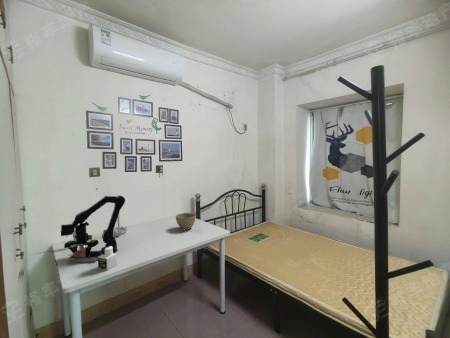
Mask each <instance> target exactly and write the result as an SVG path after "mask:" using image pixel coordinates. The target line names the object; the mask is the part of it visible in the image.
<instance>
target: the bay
mask: <svg viewBox="0 0 450 338" xmlns="http://www.w3.org/2000/svg"><path fill="white" fill-rule="evenodd" d="M86 247H87V245H78V248H79V249H86ZM99 256H101V250H91V251H90V256H89V257H88V258H75V257H74V254H73V253H72V254H71V255H70V256H69V257H68V259H67V261H68V263H69V264H83V263H84V264H86V263H96V262H98V257H99Z"/></svg>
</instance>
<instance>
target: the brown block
mask: <svg viewBox="0 0 450 338" xmlns="http://www.w3.org/2000/svg"><path fill="white" fill-rule="evenodd" d="M89 256H90V254H89ZM89 256H88V257H89ZM74 257H75V258H88V257H87V255H86V249H80V248H79V249H77V251H76V252H74Z"/></svg>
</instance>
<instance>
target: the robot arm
mask: <svg viewBox="0 0 450 338" xmlns="http://www.w3.org/2000/svg"><path fill="white" fill-rule="evenodd" d="M125 202H126V199H125V197H124V196H123V195H117V196H114V195H113V196H112V195H110V196H109V195H105V196H103V197H102V198H101V199H100V200H99V201H96V202H95V203H94V204H93V205H91V206H89V208H87V209H85V210H82V211H80V212H79V213H77V214H75V217H74V220H73V221H72V223H68V224H61V227H60V237H66V236H67V235H68V236H70V235H71V236H73V233H74V227H75V229H76V236H74V237H75V238H76V240H75V241H74V240H68V241H66V242H65V243H64V245H63V248H64V249H67V250H69V251H70V252H72V255H73V254H74V252H76V251H78V248H79V246H78V245H86V255H87V257H88V256H89V254H90V251H92V248H93V247H96V246H97V245H99V240H98V239H92V238H93V235H92V234H89V233H88V232H87V227H88V226H90V223H89V222H88V221H87V220H88V219H89V217H91V215H92V214H93V213H95V212H96V211H97V210H99V209H101V208H102V207H103V206H104V205H106V204H107V203H110V204H111V203H112V204H114V207H113V211H112V214H111V217H110V219H109V222H108V225H107V228H106V229H103V233H102V234H101V238H102V242H103V243H105V244H104V247H105V246H112V247H113V253H115V254H117V252H118V251H119V249H118V243H117V239H116V237H113V231H114V229H115V227H116V223H117V222H118V215H119V216H120V212H121V209H122V208H123V206H124V205H125ZM68 236H67V237H68Z"/></svg>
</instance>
